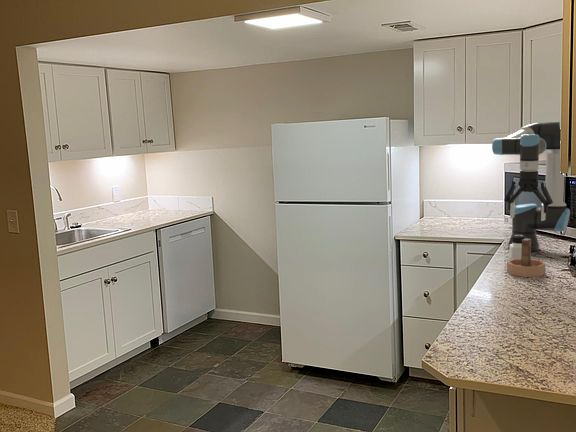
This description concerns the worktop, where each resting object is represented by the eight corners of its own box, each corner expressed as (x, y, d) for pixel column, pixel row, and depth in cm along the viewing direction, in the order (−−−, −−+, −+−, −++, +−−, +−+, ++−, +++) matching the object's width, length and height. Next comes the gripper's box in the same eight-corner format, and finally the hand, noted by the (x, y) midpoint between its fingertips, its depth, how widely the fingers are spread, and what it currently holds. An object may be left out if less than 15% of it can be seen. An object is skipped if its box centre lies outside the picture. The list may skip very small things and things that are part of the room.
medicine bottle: (527, 261, 281) (528, 237, 279) (511, 261, 282) (512, 237, 280) (524, 258, 287) (525, 234, 286) (509, 258, 289) (509, 234, 287)
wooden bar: (524, 268, 264) (525, 238, 262) (530, 269, 263) (531, 238, 260) (520, 270, 262) (521, 239, 259) (526, 271, 260) (527, 240, 258)
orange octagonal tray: (516, 266, 273) (516, 257, 272) (548, 271, 262) (549, 261, 262) (502, 273, 262) (502, 263, 262) (535, 278, 252) (535, 268, 251)
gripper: (497, 170, 261) (496, 217, 265) (555, 172, 244) (553, 223, 247) (504, 168, 266) (503, 215, 270) (562, 170, 249) (560, 220, 253)
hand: (527, 218), depth 259 cm, fingers open, 13 cm apart
